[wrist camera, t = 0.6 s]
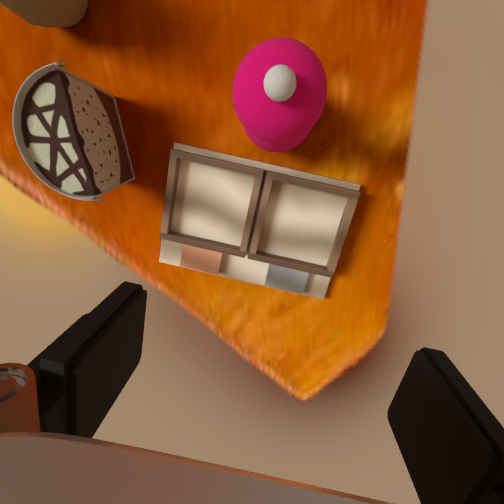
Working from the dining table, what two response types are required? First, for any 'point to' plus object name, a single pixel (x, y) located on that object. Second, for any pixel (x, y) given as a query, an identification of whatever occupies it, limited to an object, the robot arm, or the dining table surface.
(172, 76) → the dining table surface
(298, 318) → the dining table surface
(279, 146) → the pepper mill
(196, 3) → the dining table surface
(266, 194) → the holder board
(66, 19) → the squeeze bottle
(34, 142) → the food container
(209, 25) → the dining table surface
